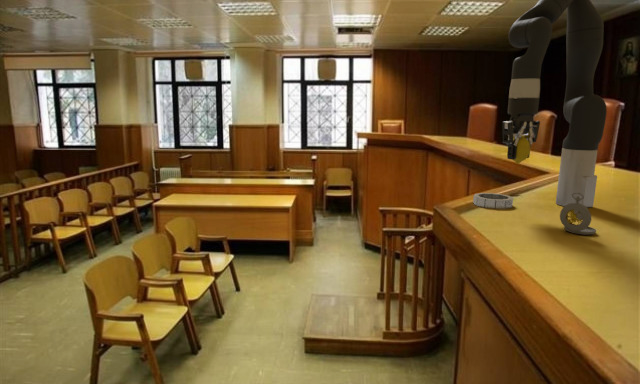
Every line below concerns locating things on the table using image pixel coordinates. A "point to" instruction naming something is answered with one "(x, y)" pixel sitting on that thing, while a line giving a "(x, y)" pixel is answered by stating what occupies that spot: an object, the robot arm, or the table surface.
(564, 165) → the robot arm
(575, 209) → the pocket watch
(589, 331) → the table surface
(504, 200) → the grey stone ring
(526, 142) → the lemon
